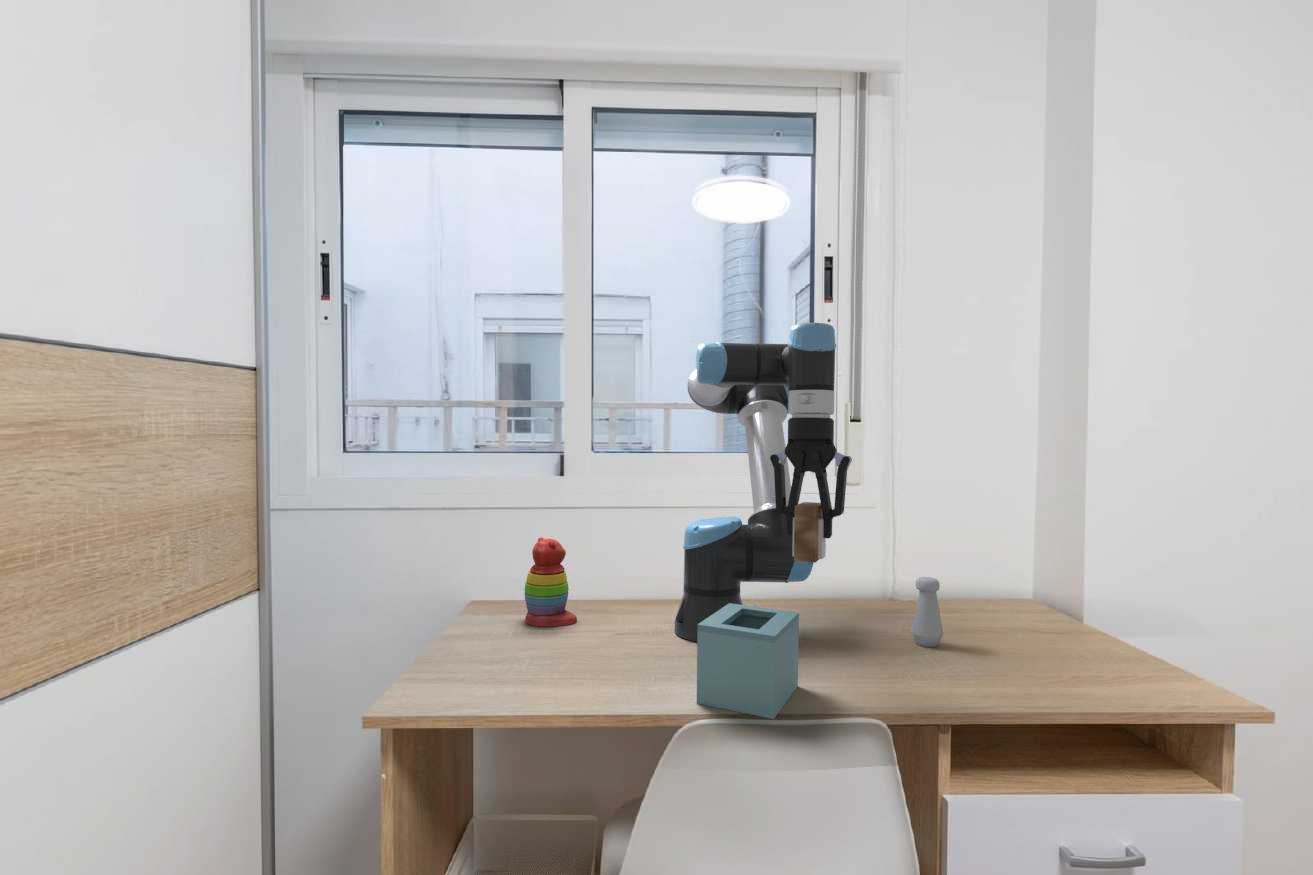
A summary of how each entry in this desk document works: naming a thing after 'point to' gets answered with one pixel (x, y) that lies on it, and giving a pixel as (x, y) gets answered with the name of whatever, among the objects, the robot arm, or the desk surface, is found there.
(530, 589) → the stacking bear
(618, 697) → the desk surface
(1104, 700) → the desk surface
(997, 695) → the desk surface
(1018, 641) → the desk surface
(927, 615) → the salt shaker
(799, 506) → the block
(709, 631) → the coin box
